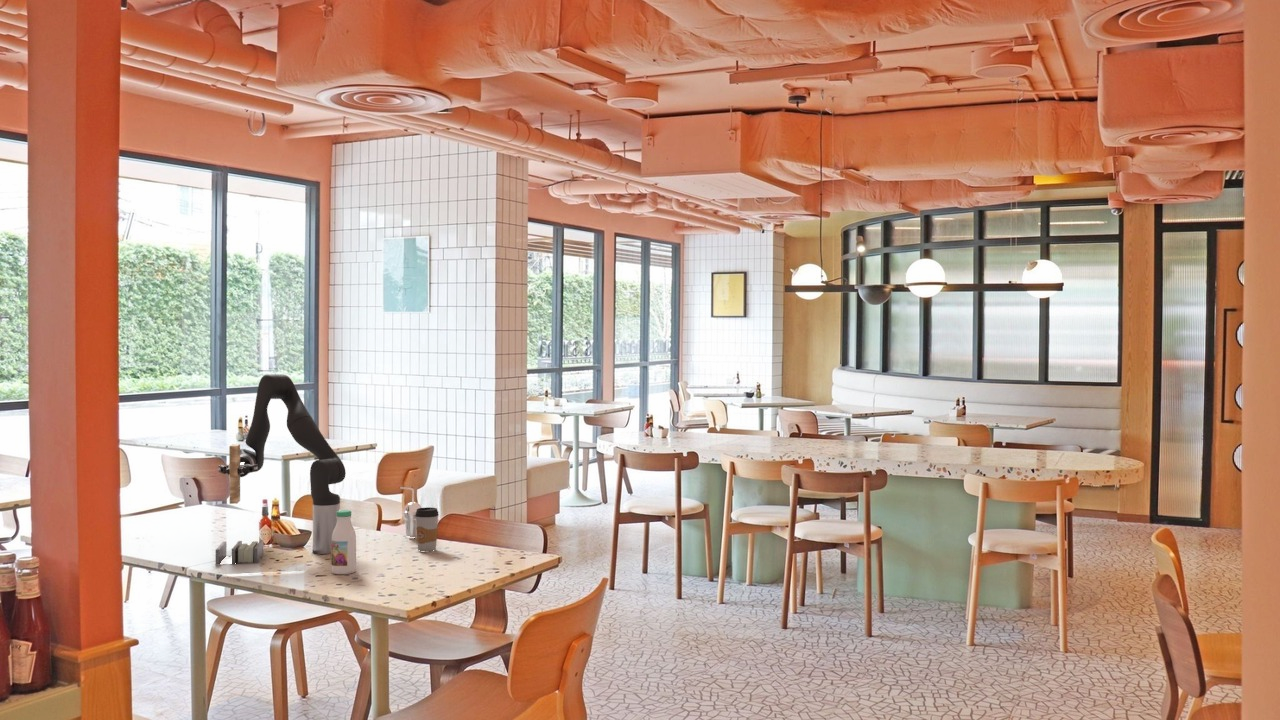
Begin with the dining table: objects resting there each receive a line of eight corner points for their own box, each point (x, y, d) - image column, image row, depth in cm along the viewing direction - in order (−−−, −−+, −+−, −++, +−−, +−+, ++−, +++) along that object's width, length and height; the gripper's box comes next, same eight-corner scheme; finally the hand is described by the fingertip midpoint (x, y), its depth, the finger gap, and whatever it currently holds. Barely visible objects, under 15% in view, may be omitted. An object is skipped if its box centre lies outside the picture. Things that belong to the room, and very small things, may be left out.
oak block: (240, 500, 342) (240, 443, 341) (237, 503, 336) (237, 446, 335) (232, 500, 341) (232, 444, 341) (229, 503, 336) (229, 446, 335)
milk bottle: (347, 568, 321) (347, 508, 320) (360, 572, 316) (361, 510, 315) (326, 572, 315) (326, 511, 314) (340, 576, 310) (340, 513, 310)
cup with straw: (421, 540, 369) (421, 487, 368) (397, 539, 369) (397, 487, 368) (426, 535, 377) (426, 484, 377) (403, 535, 377) (403, 484, 377)
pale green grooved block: (257, 555, 334) (257, 541, 334) (253, 562, 325) (253, 547, 325) (242, 556, 333) (242, 541, 333) (237, 562, 323) (237, 547, 323)
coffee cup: (410, 551, 348) (410, 509, 348) (425, 547, 355) (425, 506, 355) (428, 553, 344) (428, 511, 344) (443, 549, 351) (443, 508, 351)
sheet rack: (263, 557, 337) (263, 540, 337) (257, 566, 323) (257, 548, 323) (223, 558, 334) (223, 541, 334) (215, 567, 320) (215, 549, 320)
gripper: (221, 455, 351) (212, 461, 334) (262, 454, 354) (255, 460, 337) (221, 476, 351) (212, 482, 334) (262, 475, 354) (255, 481, 338)
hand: (233, 471), depth 336 cm, fingers closed on oak block, 2 cm apart
